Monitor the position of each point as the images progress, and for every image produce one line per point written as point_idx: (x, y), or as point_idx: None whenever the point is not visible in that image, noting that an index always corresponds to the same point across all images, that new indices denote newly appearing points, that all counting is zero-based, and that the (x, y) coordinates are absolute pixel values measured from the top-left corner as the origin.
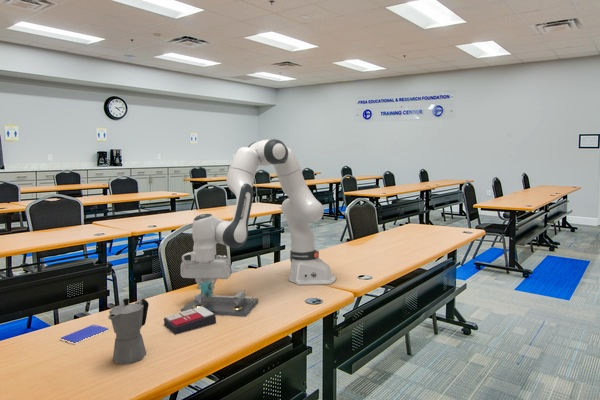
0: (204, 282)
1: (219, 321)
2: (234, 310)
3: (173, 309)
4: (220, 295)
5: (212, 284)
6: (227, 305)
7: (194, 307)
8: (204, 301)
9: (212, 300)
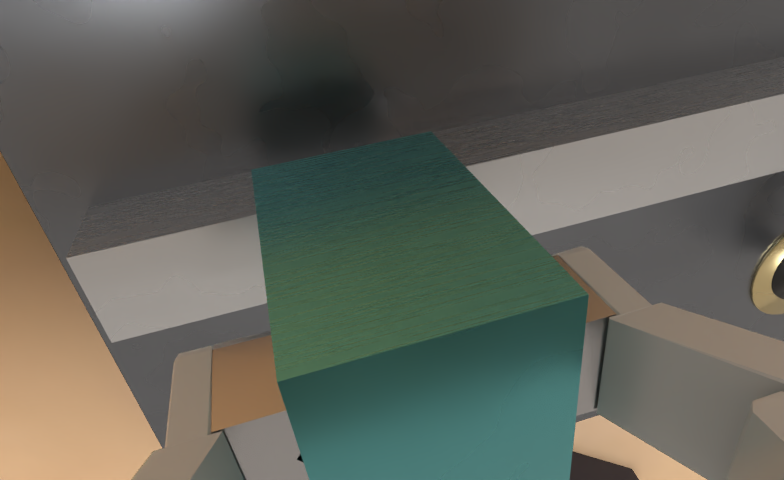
0: (366, 466)
1: None
2: (780, 328)
3: (8, 476)
4: (605, 137)
5: (651, 423)
6: (694, 246)
7: None
8: None
9: None
